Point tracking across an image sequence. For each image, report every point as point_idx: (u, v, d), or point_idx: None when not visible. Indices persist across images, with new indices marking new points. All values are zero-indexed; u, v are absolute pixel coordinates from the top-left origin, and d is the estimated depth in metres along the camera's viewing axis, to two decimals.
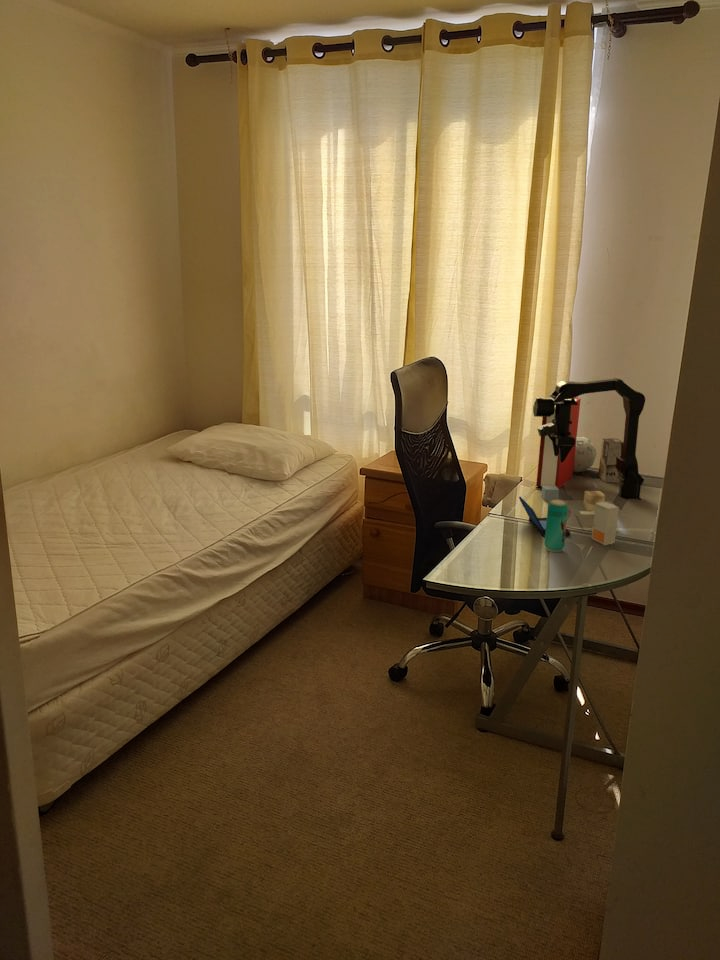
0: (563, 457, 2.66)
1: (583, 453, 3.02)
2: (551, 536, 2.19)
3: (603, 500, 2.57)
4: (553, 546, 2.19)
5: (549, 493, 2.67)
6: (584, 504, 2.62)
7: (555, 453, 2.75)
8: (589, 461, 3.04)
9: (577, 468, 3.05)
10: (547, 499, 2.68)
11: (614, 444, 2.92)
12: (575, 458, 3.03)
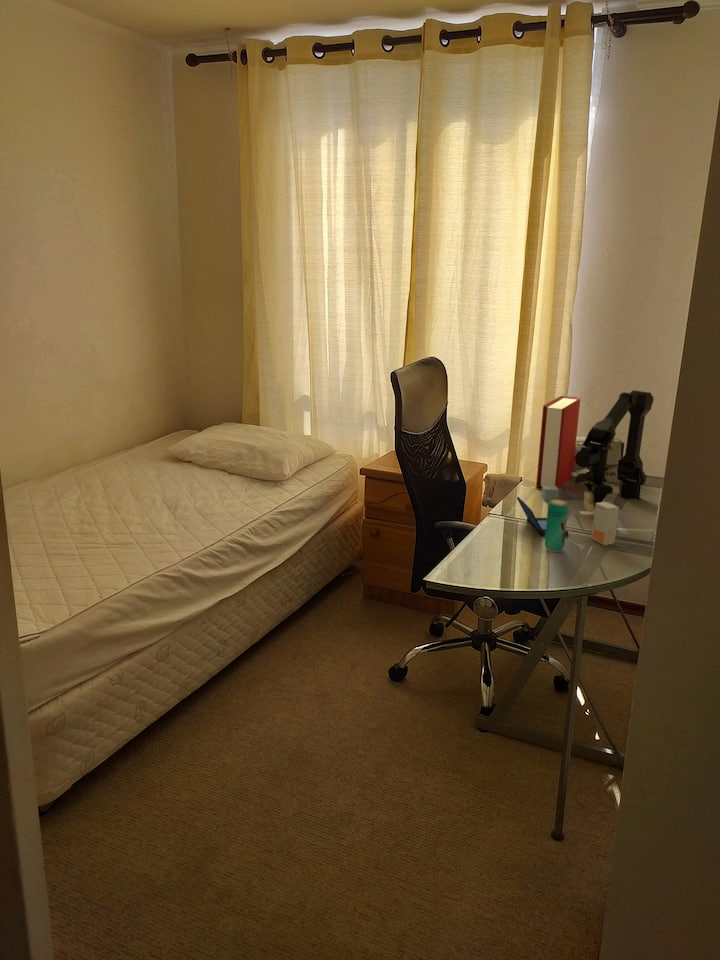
0: None
1: None
2: (551, 536, 2.19)
3: (603, 500, 2.57)
4: (553, 546, 2.19)
5: (549, 493, 2.67)
6: (584, 504, 2.62)
7: None
8: None
9: (577, 468, 3.05)
10: (547, 499, 2.68)
11: (614, 444, 2.92)
12: None
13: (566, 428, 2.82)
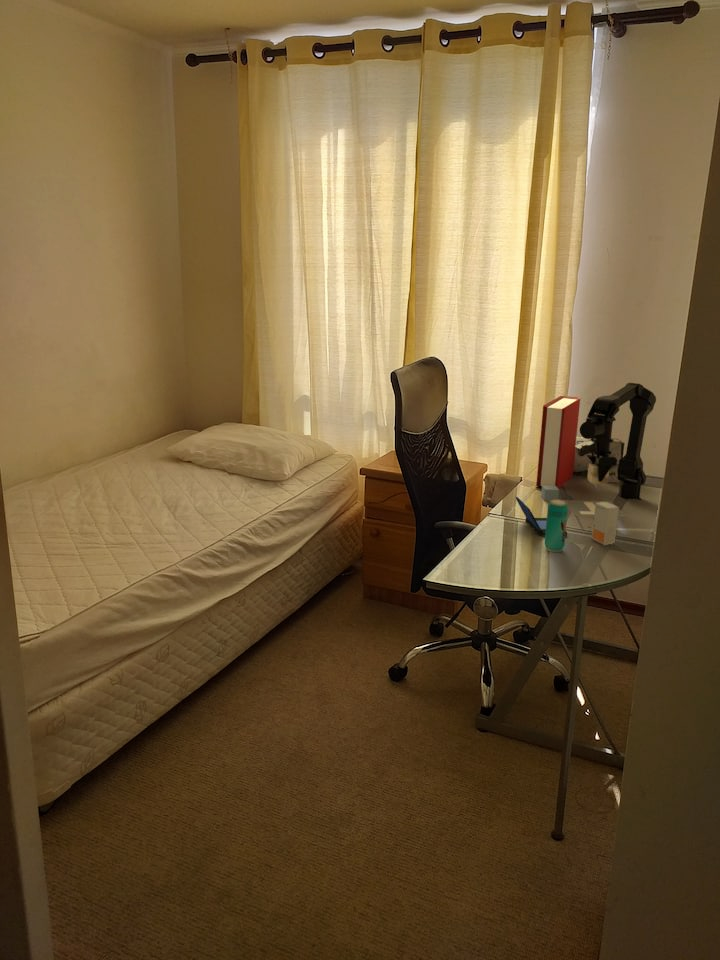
0: (602, 476, 2.53)
1: None
2: (551, 536, 2.19)
3: (607, 473, 2.53)
4: (553, 546, 2.19)
5: (549, 493, 2.67)
6: (588, 477, 2.58)
7: None
8: (589, 461, 3.04)
9: (577, 468, 3.05)
10: (547, 499, 2.68)
11: (614, 444, 2.92)
12: (575, 458, 3.02)
13: (566, 428, 2.82)
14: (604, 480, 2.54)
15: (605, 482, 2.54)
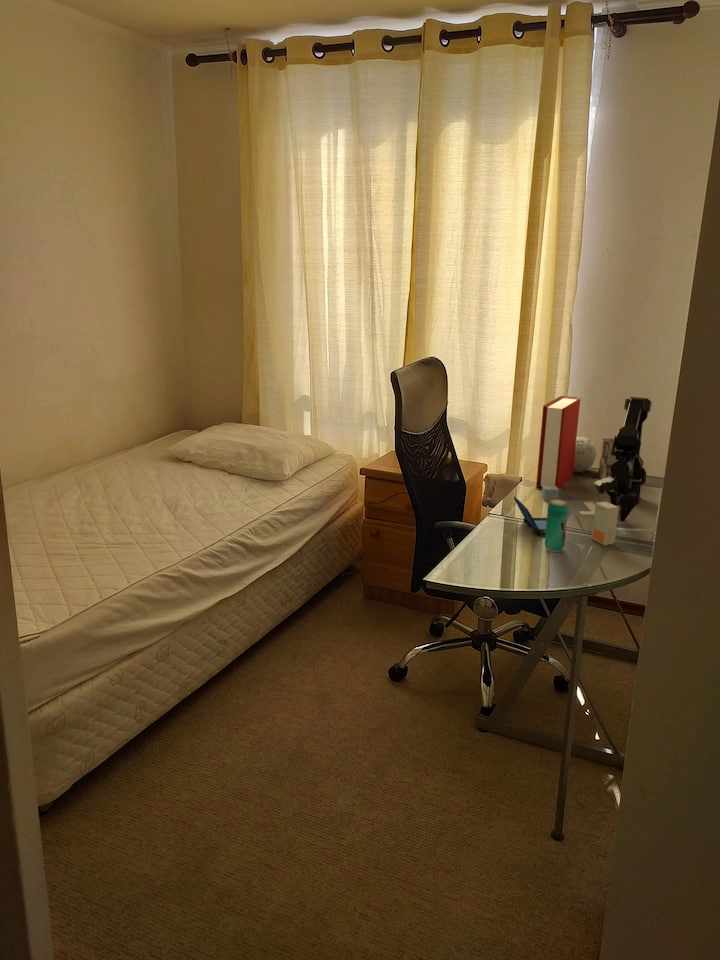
0: (624, 516, 2.41)
1: (583, 453, 3.02)
2: (551, 536, 2.19)
3: (628, 515, 2.44)
4: (553, 546, 2.19)
5: (549, 493, 2.67)
6: None
7: None
8: (589, 461, 3.04)
9: (577, 468, 3.05)
10: (547, 499, 2.68)
11: None
12: (575, 458, 3.02)
13: (566, 428, 2.82)
14: (624, 523, 2.44)
15: None
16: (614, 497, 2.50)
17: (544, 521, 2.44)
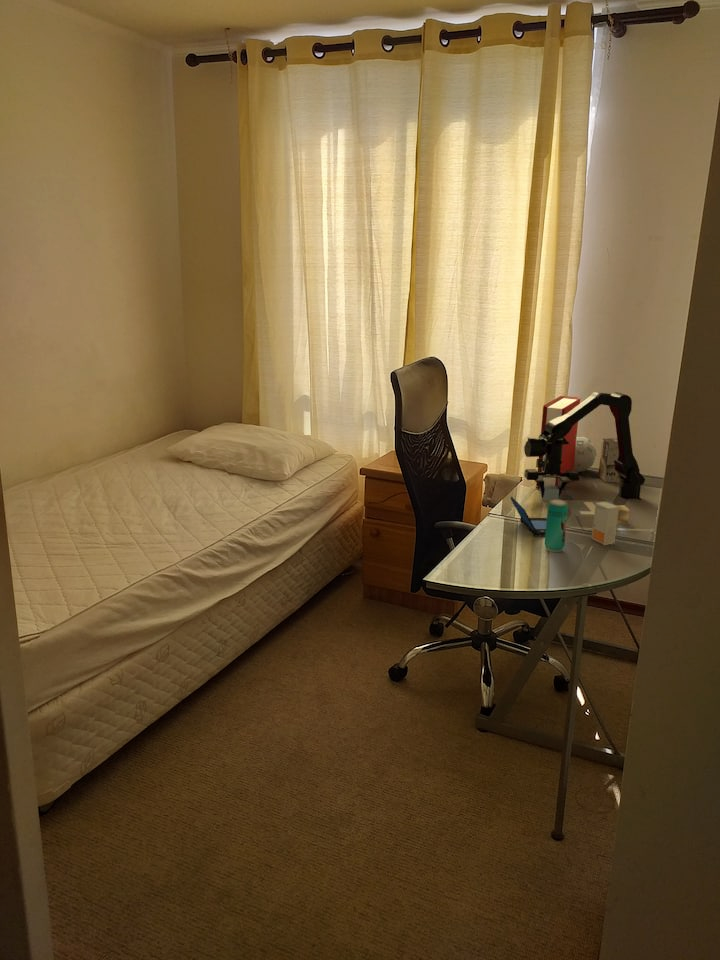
0: (540, 492, 2.69)
1: (583, 453, 3.02)
2: (551, 536, 2.19)
3: (628, 515, 2.44)
4: (553, 546, 2.19)
5: (549, 493, 2.67)
6: None
7: None
8: (589, 461, 3.04)
9: (577, 468, 3.05)
10: (547, 499, 2.68)
11: (614, 444, 2.92)
12: (575, 458, 3.02)
13: None
14: (624, 523, 2.44)
15: None
16: (559, 484, 2.69)
17: (541, 521, 2.44)
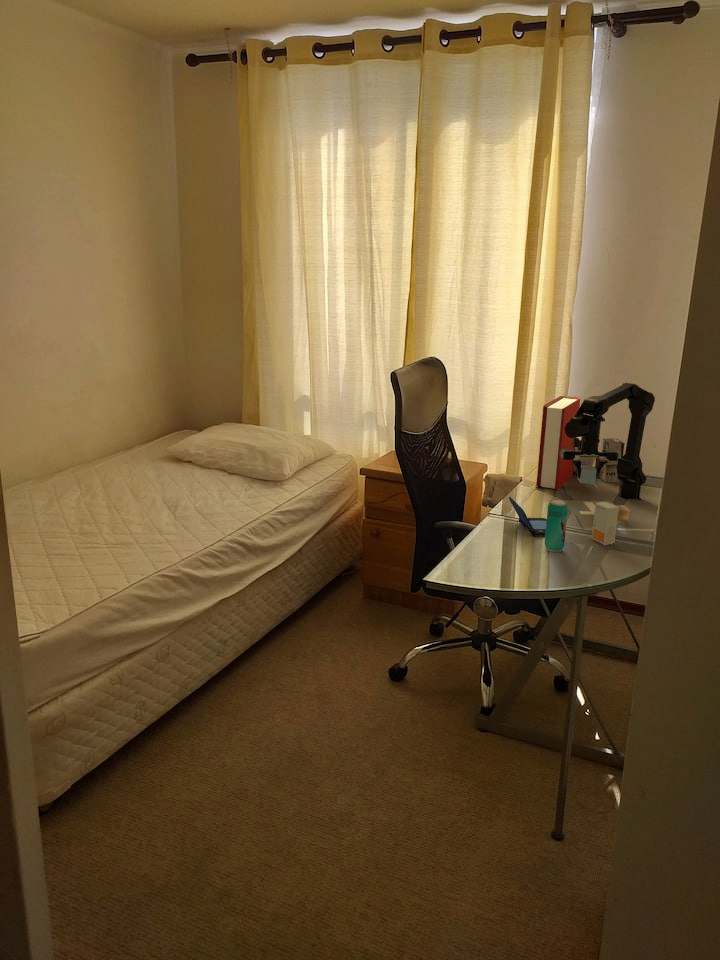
0: (577, 473, 2.59)
1: None
2: (551, 536, 2.19)
3: (628, 515, 2.44)
4: (553, 546, 2.19)
5: (586, 473, 2.57)
6: None
7: None
8: (589, 461, 3.04)
9: None
10: (584, 479, 2.58)
11: (614, 444, 2.92)
12: None
13: None
14: (624, 523, 2.44)
15: None
16: (596, 464, 2.59)
17: (539, 521, 2.44)
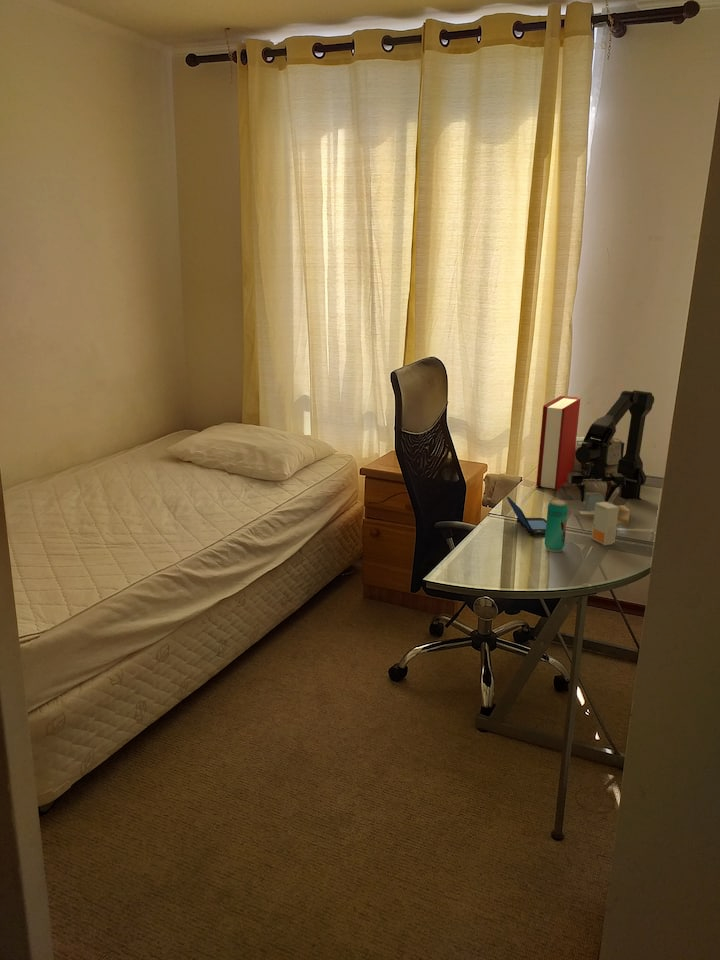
0: (580, 496, 2.59)
1: None
2: (551, 536, 2.19)
3: (627, 515, 2.44)
4: (553, 546, 2.19)
5: (594, 500, 2.57)
6: None
7: (605, 499, 2.60)
8: None
9: (577, 468, 3.05)
10: (591, 506, 2.58)
11: (614, 444, 2.92)
12: (575, 458, 3.02)
13: (566, 428, 2.82)
14: (624, 523, 2.44)
15: None
16: (608, 488, 2.59)
17: (537, 521, 2.44)
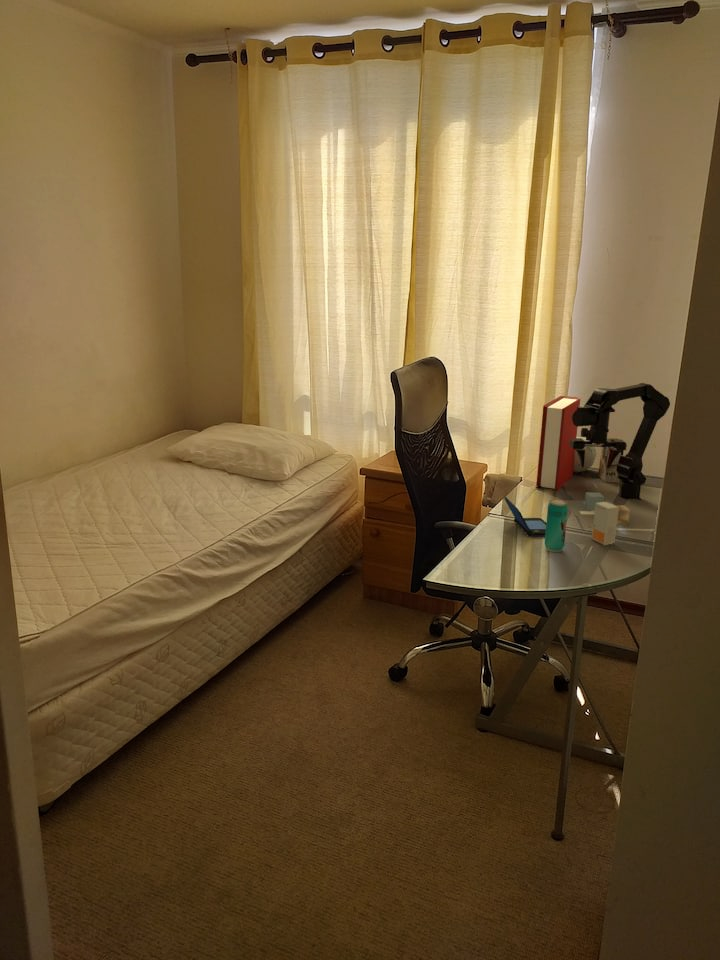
0: (580, 462, 2.65)
1: None
2: (551, 536, 2.19)
3: (628, 515, 2.44)
4: (553, 546, 2.19)
5: (594, 500, 2.57)
6: None
7: (607, 465, 2.66)
8: (589, 461, 3.04)
9: (577, 468, 3.05)
10: (591, 506, 2.58)
11: None
12: (575, 458, 3.03)
13: (566, 428, 2.82)
14: (624, 523, 2.44)
15: None
16: (610, 453, 2.64)
17: (535, 521, 2.43)
